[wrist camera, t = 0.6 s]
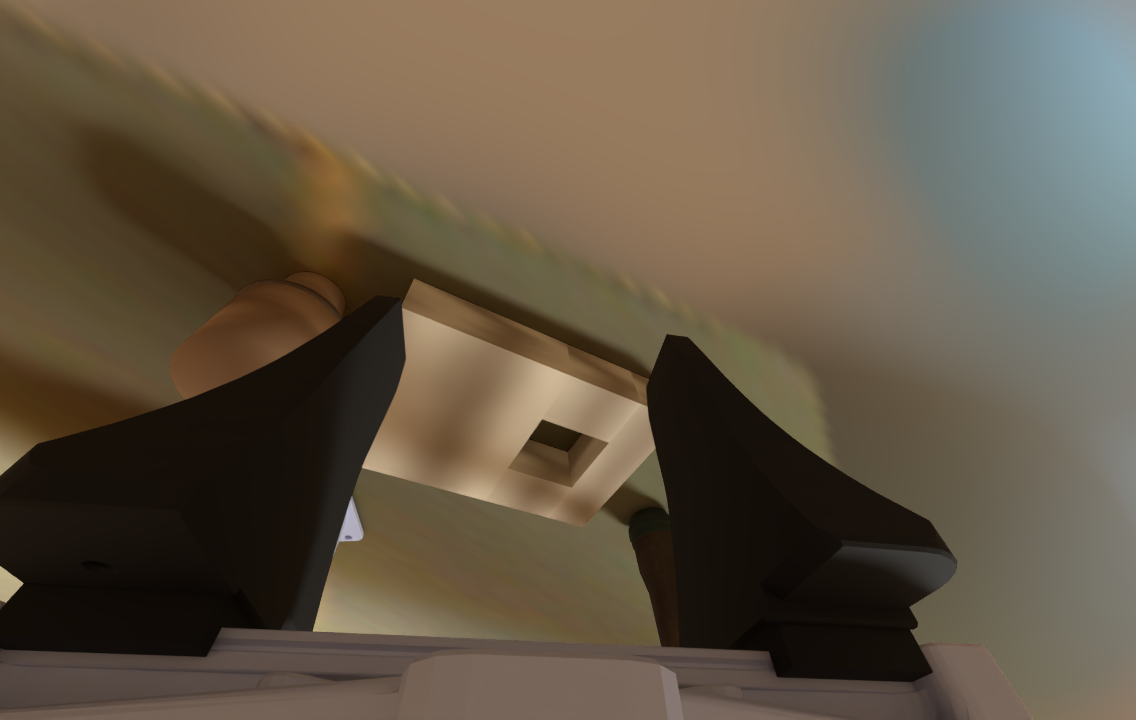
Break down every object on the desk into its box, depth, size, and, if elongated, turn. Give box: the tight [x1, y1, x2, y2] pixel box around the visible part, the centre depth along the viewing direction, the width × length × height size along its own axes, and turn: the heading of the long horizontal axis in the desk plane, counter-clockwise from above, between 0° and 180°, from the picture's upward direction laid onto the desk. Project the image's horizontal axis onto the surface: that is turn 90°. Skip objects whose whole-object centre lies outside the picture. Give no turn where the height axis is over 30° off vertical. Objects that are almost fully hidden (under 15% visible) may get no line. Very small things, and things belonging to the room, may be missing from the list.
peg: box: [169, 272, 346, 400], centre depth 19 cm, size 5×5×7 cm
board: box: [362, 279, 655, 527], centre depth 26 cm, size 16×11×3 cm
